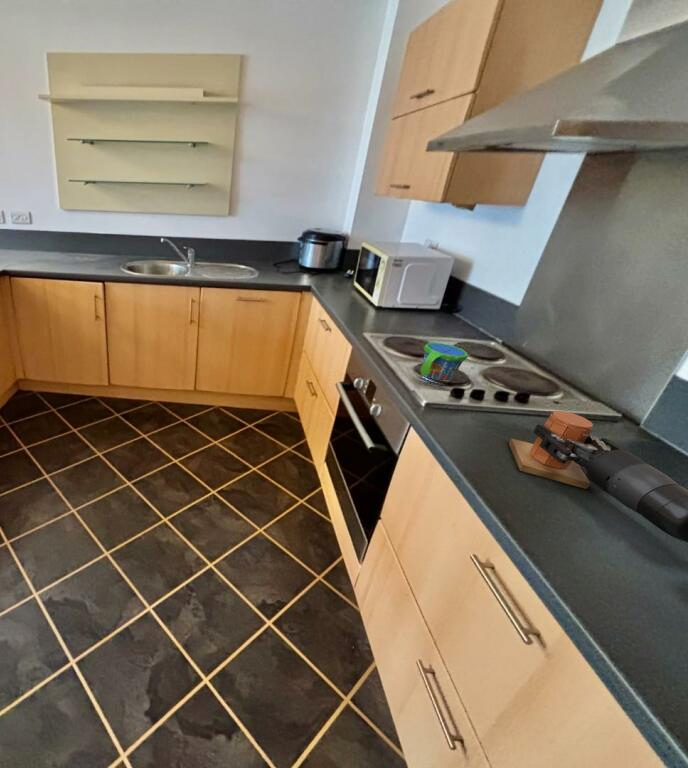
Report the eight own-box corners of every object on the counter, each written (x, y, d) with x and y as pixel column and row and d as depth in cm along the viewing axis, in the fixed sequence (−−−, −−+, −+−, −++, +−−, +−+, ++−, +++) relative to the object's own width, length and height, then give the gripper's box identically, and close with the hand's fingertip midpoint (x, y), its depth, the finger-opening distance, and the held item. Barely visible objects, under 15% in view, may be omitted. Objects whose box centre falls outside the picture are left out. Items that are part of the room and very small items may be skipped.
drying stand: (568, 459, 90) (593, 419, 85) (586, 489, 81) (615, 447, 77) (508, 443, 94) (529, 405, 89) (519, 470, 85) (543, 429, 81)
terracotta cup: (562, 456, 88) (586, 416, 84) (571, 472, 83) (598, 430, 79) (527, 446, 91) (549, 407, 86) (534, 462, 85) (558, 421, 81)
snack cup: (435, 370, 129) (447, 339, 125) (467, 385, 121) (482, 353, 116) (400, 376, 123) (411, 344, 119) (432, 392, 115) (446, 359, 110)
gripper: (685, 467, 70) (595, 415, 85) (605, 463, 69) (528, 411, 84) (658, 500, 73) (576, 445, 88) (581, 497, 73) (512, 442, 88)
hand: (553, 429), depth 86 cm, fingers closed on terracotta cup, 6 cm apart
